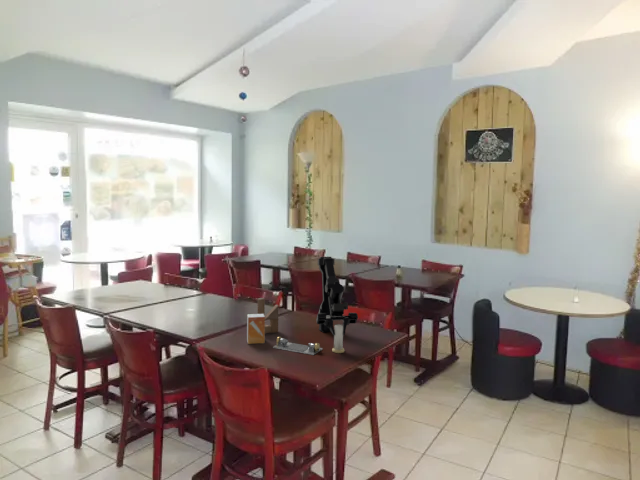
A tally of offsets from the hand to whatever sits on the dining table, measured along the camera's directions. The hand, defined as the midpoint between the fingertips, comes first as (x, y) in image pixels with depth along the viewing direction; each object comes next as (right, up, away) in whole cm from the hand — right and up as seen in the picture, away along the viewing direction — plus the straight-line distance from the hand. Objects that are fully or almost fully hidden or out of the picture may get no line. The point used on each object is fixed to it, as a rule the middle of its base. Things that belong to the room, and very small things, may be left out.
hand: (339, 334), depth 212 cm
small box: (-40, -6, +14) cm, 43 cm away
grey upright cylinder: (0, -8, +2) cm, 8 cm away
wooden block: (-36, -5, +30) cm, 47 cm away
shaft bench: (-19, -7, +5) cm, 21 cm away
